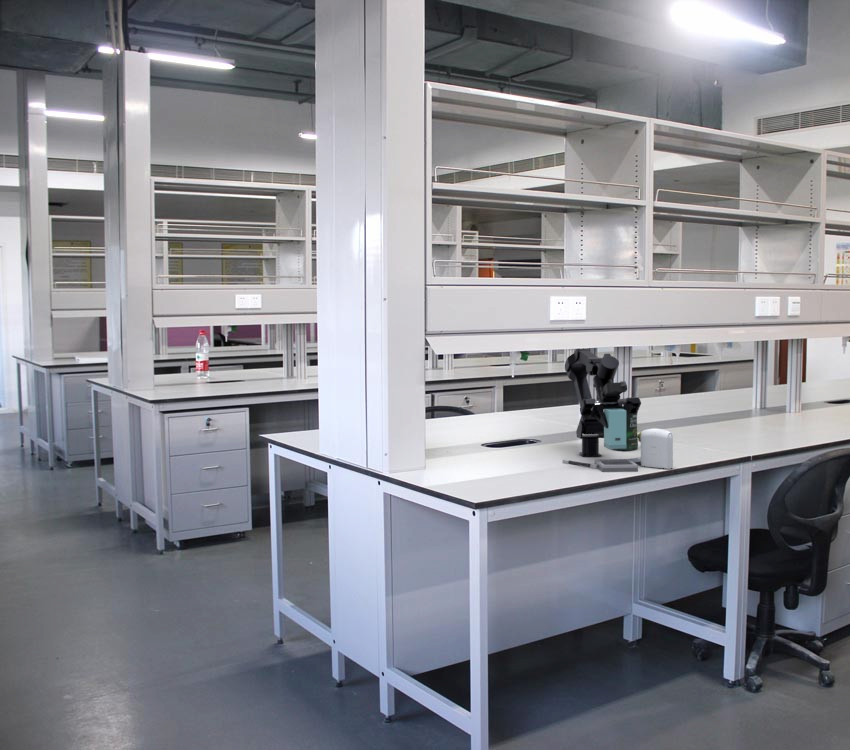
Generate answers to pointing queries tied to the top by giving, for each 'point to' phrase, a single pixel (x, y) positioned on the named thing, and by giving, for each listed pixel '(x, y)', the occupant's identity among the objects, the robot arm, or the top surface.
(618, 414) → the charger
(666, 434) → the photo printer
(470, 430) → the top surface
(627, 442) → the coffee jar
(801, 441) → the top surface
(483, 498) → the top surface
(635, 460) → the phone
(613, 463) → the tray
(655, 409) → the top surface
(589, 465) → the pen
